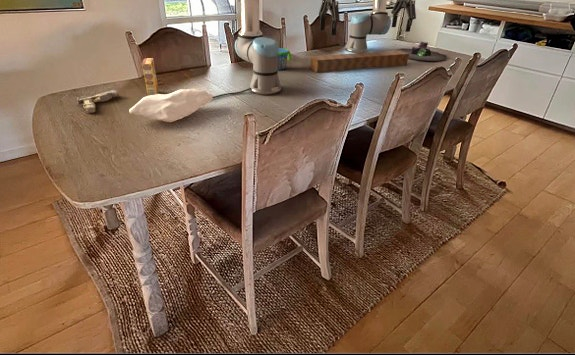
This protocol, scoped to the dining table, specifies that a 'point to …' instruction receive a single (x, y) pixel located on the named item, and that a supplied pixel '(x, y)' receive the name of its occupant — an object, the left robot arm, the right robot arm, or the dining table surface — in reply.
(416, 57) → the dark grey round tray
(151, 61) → the candy box
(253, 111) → the dining table surface
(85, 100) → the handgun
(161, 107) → the crumpled cloth
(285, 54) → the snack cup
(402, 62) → the thick board
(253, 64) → the left robot arm
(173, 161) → the dining table surface
